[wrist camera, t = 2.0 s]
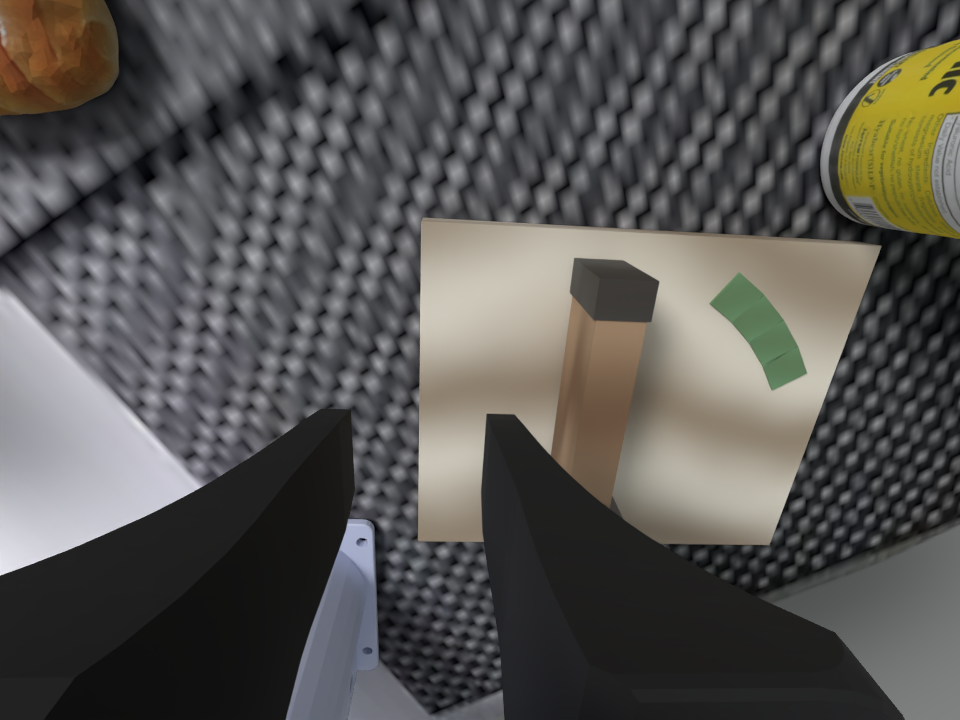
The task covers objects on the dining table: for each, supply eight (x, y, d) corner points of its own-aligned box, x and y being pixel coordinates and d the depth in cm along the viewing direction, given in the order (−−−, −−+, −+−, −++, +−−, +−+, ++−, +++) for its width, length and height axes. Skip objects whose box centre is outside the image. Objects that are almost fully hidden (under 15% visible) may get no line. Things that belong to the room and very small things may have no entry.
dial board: (756, 529, 23) (770, 546, 22) (419, 524, 22) (418, 542, 21) (859, 241, 17) (883, 246, 16) (423, 217, 16) (421, 221, 15)
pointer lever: (595, 510, 20) (621, 575, 17) (525, 509, 20) (538, 575, 17) (642, 261, 16) (688, 285, 13) (554, 256, 16) (579, 280, 13)
